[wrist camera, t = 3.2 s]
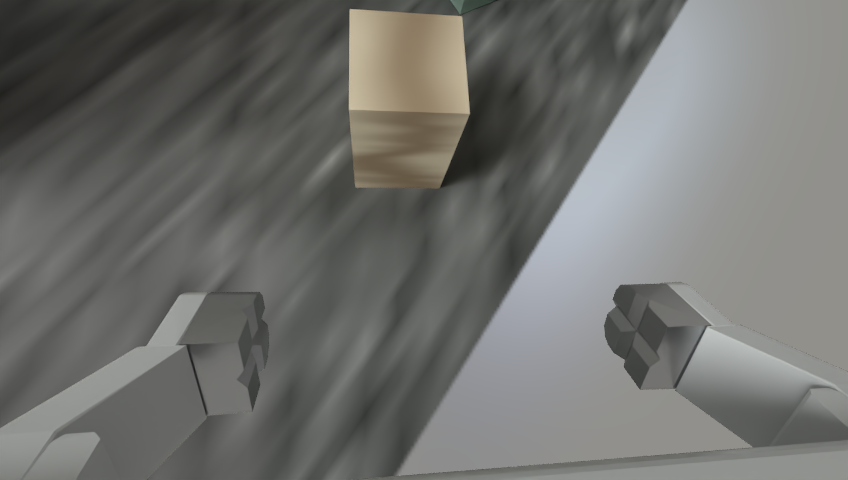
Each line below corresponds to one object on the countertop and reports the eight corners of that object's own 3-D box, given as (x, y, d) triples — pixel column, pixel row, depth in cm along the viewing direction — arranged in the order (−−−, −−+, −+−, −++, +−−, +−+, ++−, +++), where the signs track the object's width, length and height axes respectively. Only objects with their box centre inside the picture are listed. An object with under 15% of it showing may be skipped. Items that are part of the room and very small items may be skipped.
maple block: (355, 187, 24) (348, 109, 17) (355, 112, 26) (349, 8, 18) (439, 188, 25) (470, 113, 17) (435, 115, 26) (462, 16, 19)
